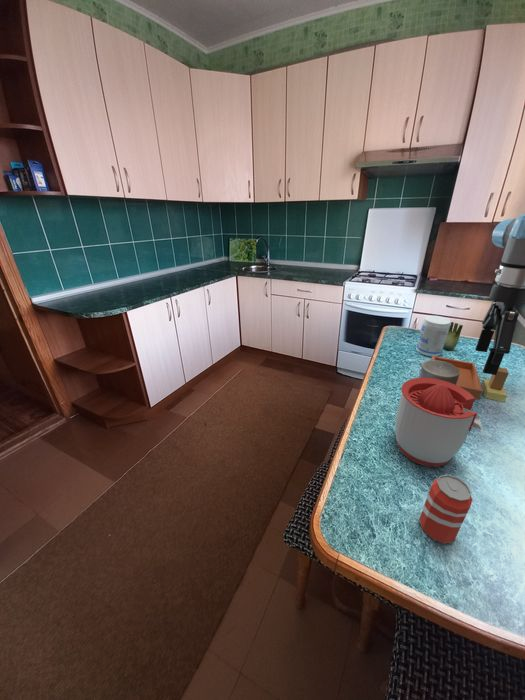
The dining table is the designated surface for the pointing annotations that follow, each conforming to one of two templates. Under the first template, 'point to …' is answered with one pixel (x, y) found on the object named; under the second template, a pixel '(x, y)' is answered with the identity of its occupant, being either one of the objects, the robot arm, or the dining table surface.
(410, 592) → the dining table surface
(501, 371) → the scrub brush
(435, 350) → the supplement tub
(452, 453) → the citrus juicer
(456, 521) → the beverage can
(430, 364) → the pillar candle
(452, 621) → the dining table surface
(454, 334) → the fennel bulb
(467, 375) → the orange brown tray
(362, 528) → the dining table surface
